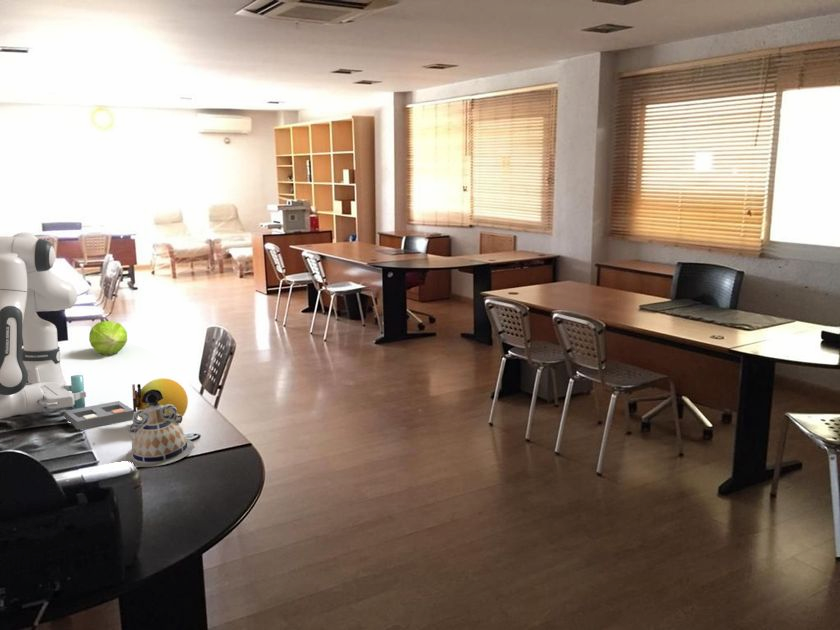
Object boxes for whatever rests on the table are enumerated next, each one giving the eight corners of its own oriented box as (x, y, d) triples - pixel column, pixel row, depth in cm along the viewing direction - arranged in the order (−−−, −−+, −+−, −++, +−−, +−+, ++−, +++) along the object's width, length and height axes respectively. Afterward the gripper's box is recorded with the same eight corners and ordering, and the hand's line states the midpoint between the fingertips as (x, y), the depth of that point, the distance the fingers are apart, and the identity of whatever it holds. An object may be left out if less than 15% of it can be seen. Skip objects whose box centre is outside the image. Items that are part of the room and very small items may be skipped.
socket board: (64, 420, 214) (63, 410, 213) (119, 409, 226) (118, 400, 225) (77, 431, 205) (77, 420, 204) (134, 419, 216) (134, 409, 216)
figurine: (125, 473, 177) (117, 400, 174) (125, 451, 193) (117, 385, 190) (197, 460, 184) (190, 390, 181) (191, 440, 200) (184, 376, 197)
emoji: (134, 420, 215) (131, 375, 213) (186, 415, 221) (184, 371, 219) (134, 437, 201) (132, 388, 198) (190, 431, 207) (189, 383, 204)
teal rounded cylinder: (71, 413, 221) (69, 377, 219) (75, 409, 224) (73, 375, 222) (83, 413, 221) (80, 377, 219) (87, 409, 225) (84, 374, 223)
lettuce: (134, 353, 298) (96, 362, 290) (125, 343, 317) (89, 351, 309) (128, 322, 294) (89, 329, 286) (119, 313, 313) (82, 320, 305)
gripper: (42, 396, 205) (90, 388, 214) (23, 382, 219) (69, 375, 229) (44, 416, 206) (91, 407, 215) (25, 400, 220) (71, 393, 230)
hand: (80, 390), depth 222 cm, fingers open, 8 cm apart
